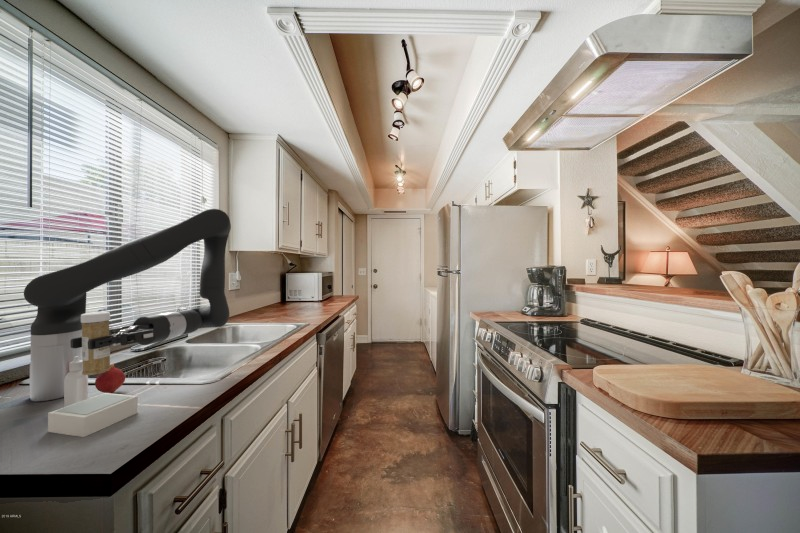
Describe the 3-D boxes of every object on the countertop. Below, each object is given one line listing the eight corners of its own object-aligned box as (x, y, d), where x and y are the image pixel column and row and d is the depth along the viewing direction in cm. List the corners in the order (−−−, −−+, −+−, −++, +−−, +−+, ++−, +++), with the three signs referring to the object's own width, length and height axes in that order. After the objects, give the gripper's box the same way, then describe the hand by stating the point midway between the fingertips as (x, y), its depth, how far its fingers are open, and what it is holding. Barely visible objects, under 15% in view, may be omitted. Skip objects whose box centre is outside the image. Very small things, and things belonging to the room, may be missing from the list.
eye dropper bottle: (96, 398, 76) (96, 353, 76) (71, 408, 70) (71, 360, 70) (81, 398, 76) (81, 353, 76) (54, 408, 71) (54, 359, 71)
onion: (105, 399, 75) (105, 369, 75) (89, 397, 77) (89, 367, 77) (130, 390, 81) (130, 362, 81) (114, 388, 82) (114, 360, 82)
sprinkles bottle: (108, 372, 64) (107, 312, 64) (78, 377, 61) (77, 315, 61) (113, 367, 68) (112, 310, 68) (85, 371, 65) (84, 312, 65)
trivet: (47, 431, 60) (48, 412, 60) (105, 409, 70) (105, 392, 70) (84, 437, 58) (84, 416, 58) (137, 412, 68) (137, 395, 68)
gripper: (139, 313, 80) (55, 326, 63) (182, 314, 77) (105, 328, 60) (140, 339, 80) (55, 359, 63) (182, 342, 77) (106, 363, 60)
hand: (80, 344), depth 62 cm, fingers closed on sprinkles bottle, 4 cm apart
